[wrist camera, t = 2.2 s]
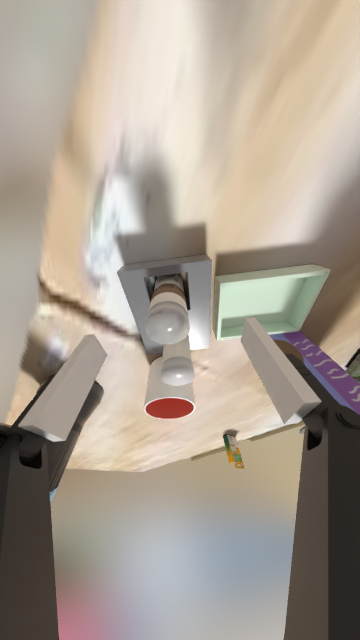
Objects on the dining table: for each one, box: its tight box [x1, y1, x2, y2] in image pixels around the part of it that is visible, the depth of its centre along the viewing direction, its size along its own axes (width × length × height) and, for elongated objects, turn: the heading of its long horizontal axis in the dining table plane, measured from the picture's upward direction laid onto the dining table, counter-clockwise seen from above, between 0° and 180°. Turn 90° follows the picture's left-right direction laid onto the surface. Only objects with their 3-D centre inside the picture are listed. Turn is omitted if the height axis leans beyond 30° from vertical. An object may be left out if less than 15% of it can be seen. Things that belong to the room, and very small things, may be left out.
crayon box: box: [223, 435, 244, 468], centre depth 68 cm, size 7×3×12 cm, turn 48°
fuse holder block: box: [117, 254, 212, 386], centre depth 21 cm, size 12×16×11 cm
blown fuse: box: [145, 274, 190, 344], centre depth 18 cm, size 4×4×11 cm
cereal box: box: [269, 331, 360, 415], centre depth 24 cm, size 17×5×24 cm, turn 37°
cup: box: [144, 356, 195, 419], centre depth 31 cm, size 10×10×10 cm
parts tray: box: [213, 264, 331, 340], centre depth 24 cm, size 15×11×3 cm
